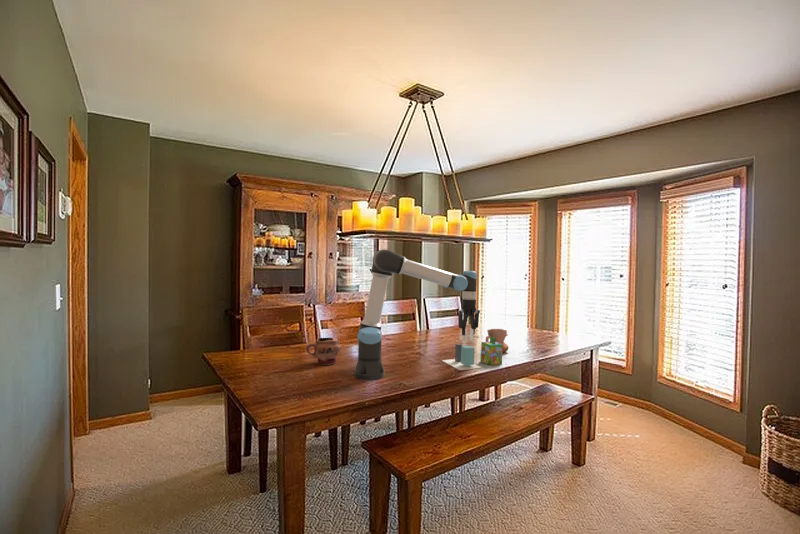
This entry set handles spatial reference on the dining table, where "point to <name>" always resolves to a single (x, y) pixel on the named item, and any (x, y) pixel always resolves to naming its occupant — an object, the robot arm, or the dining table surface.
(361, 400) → the dining table surface
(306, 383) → the dining table surface
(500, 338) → the ceramic jug
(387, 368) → the dining table surface
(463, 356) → the teal rectangular block
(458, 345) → the black post
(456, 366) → the board
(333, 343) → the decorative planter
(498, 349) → the chalk box
